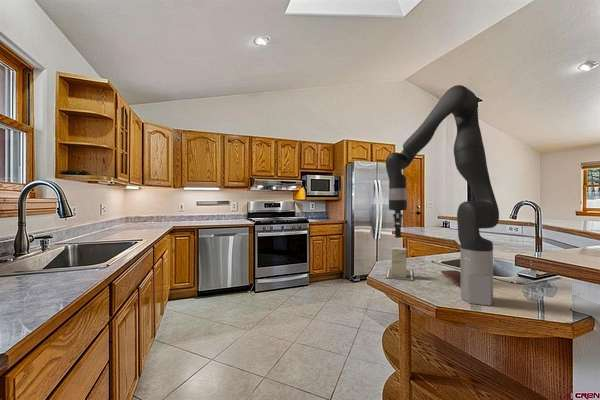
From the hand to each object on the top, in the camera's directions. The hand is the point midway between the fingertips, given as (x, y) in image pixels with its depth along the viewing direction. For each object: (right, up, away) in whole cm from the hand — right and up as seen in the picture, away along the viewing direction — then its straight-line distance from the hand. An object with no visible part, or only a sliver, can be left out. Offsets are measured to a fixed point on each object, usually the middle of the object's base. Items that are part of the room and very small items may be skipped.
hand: (398, 236), depth 119 cm
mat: (+2, -18, +4) cm, 18 cm away
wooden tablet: (+26, -18, -3) cm, 32 cm away
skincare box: (0, -18, +1) cm, 18 cm away
